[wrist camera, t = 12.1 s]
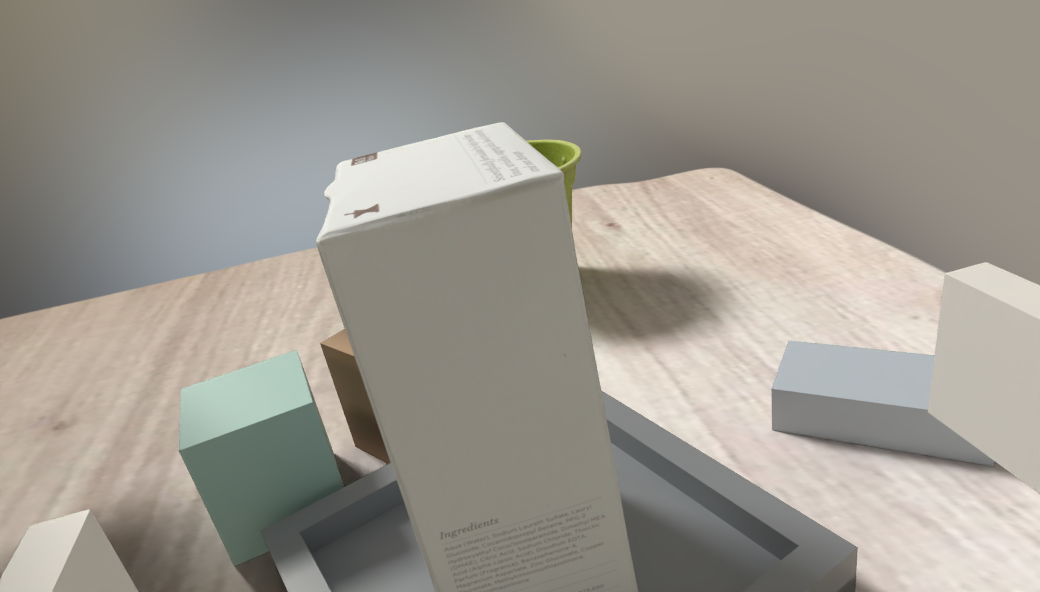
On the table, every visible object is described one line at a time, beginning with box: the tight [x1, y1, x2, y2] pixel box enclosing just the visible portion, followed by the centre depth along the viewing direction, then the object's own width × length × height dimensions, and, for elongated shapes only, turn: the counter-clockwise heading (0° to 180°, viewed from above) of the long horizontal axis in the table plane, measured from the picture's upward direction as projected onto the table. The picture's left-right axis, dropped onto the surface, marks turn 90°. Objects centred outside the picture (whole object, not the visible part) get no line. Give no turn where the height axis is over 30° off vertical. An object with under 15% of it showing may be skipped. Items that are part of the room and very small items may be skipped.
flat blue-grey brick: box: [772, 341, 995, 466], centre depth 29 cm, size 8×4×2 cm, turn 61°
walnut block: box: [320, 329, 391, 464], centre depth 33 cm, size 5×5×6 cm
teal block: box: [179, 350, 344, 566], centre depth 30 cm, size 5×5×6 cm
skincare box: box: [316, 123, 638, 592], centre depth 21 cm, size 8×6×15 cm
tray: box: [260, 391, 858, 592], centre depth 25 cm, size 15×15×2 cm
